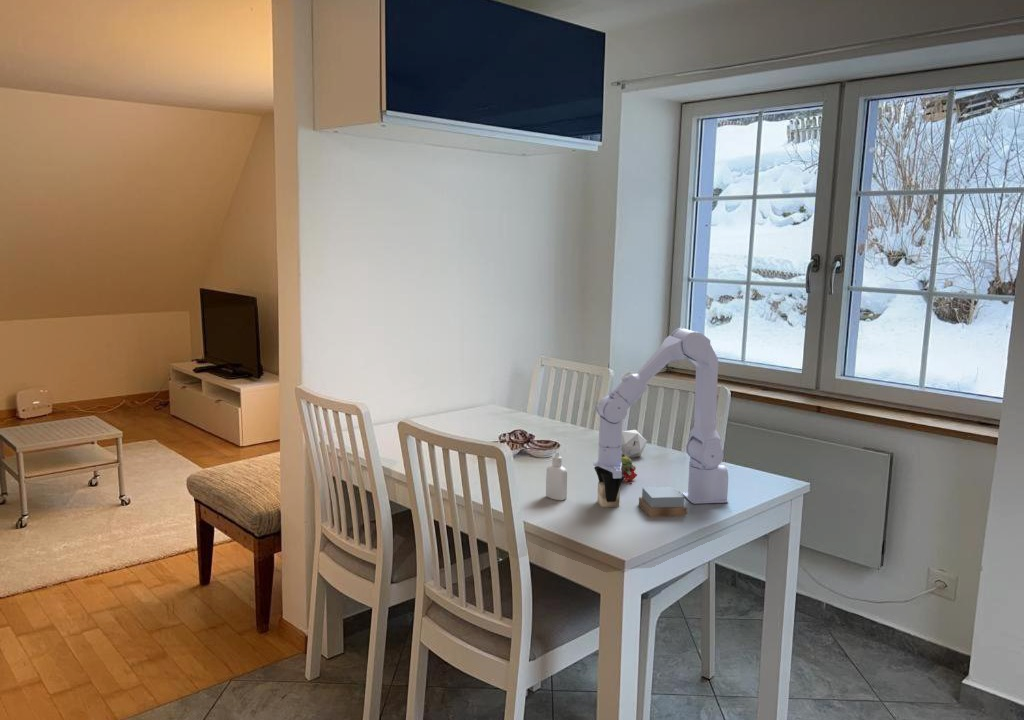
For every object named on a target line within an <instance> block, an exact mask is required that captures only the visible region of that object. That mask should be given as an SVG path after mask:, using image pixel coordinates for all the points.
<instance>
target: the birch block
mask: <svg viewBox="0 0 1024 720" xmlns="http://www.w3.org/2000/svg"><path fill="white" fill-rule="evenodd" d="M620 490H621V487H620V488H619V491H618V495H617V498H616V501H615V502H607V500H606V493H605V485H604V482H599V481H597V503H598V504H599V506H601V508H610V507H612V508H613V507H614V508H615V507H620V495H621V493H620V492H621V491H620Z"/></svg>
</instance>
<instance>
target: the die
mask: <svg viewBox="0 0 1024 720" xmlns="http://www.w3.org/2000/svg"><path fill="white" fill-rule="evenodd" d="M647 442H648V440H647V439H645V437H644V436H643V435H641V433H640V432H638V430H636V429H631V430H630V429H629V430H622V455H624V456H623V457H628V458H630V459H631V458H637V457H641V456H642V454H643V451H644V450H645V447H646V445H647Z"/></svg>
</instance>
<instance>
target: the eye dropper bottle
mask: <svg viewBox="0 0 1024 720" xmlns="http://www.w3.org/2000/svg"><path fill="white" fill-rule="evenodd" d="M551 460H552V462H551V465H549V466H548V467H546V477H545V478H546V480H545V484H546V485H545V496H546V497H547V498H549V499H551V500H556V501H565V500H566V499H567V495H568V470H567V469H566V468H565V467H564V466H563V462H562V461H563V457H562V456H561V455H560V453H559V451H555V455H553V456H552V459H551Z"/></svg>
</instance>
